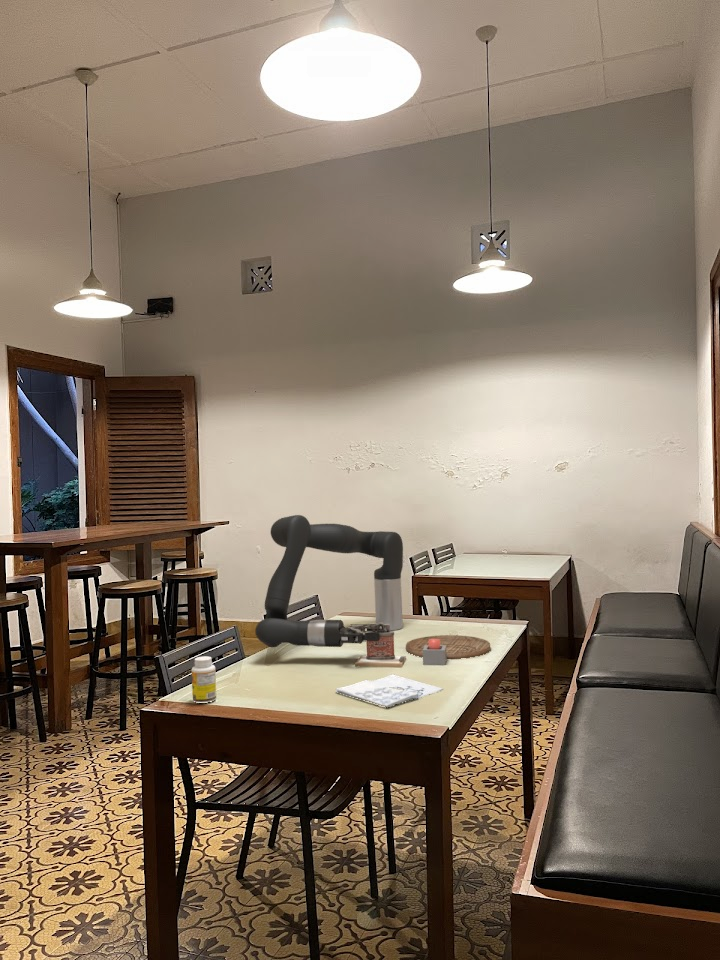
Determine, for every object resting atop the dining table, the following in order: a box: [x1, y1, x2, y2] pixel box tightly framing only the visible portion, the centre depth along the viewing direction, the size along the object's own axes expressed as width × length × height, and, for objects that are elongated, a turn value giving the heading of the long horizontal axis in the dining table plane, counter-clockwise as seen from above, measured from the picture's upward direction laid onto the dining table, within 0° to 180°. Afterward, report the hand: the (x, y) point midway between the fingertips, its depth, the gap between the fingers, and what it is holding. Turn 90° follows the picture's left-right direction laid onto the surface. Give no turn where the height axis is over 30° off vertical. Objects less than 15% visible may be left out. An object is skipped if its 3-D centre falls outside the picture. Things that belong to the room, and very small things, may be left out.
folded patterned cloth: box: [334, 673, 444, 708], centre depth 176 cm, size 19×20×2 cm
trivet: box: [405, 634, 491, 660], centre depth 218 cm, size 25×25×2 cm
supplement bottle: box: [191, 655, 217, 703], centre depth 173 cm, size 6×6×10 cm
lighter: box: [365, 622, 396, 660], centre depth 205 cm, size 8×3×10 cm, turn 84°
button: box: [429, 639, 440, 649], centre depth 203 cm, size 3×3×4 cm
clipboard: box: [354, 655, 407, 668], centre depth 204 cm, size 9×13×1 cm
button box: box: [422, 645, 447, 666], centre depth 203 cm, size 6×6×4 cm
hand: (382, 633), depth 204 cm, fingers open, 8 cm apart
